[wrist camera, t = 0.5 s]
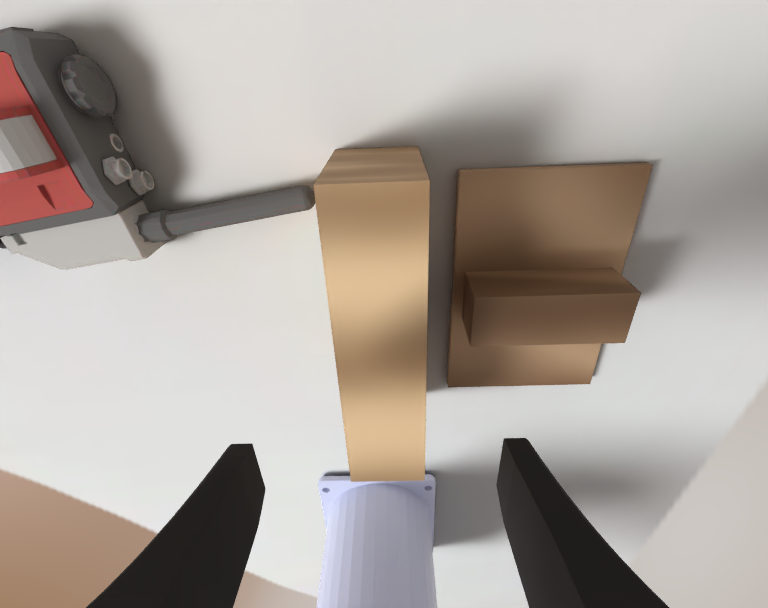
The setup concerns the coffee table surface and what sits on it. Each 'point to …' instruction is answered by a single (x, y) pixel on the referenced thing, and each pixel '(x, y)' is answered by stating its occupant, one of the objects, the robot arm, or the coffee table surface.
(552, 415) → the coffee table surface
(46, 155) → the walkie-talkie
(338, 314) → the oak bar
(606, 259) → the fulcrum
